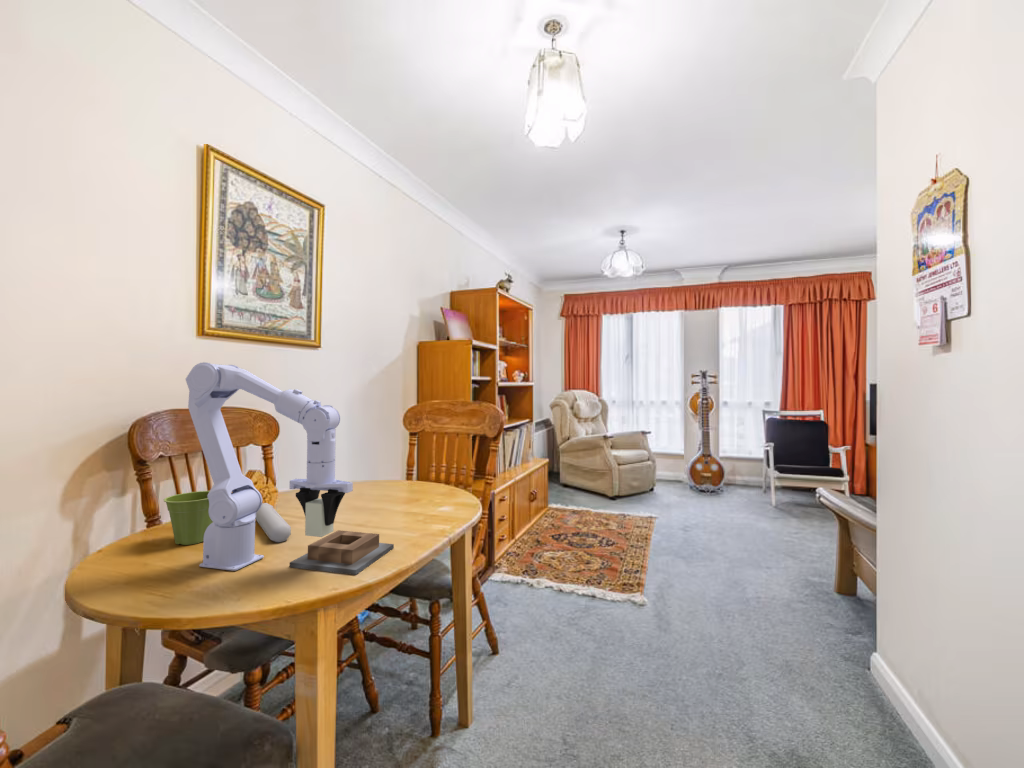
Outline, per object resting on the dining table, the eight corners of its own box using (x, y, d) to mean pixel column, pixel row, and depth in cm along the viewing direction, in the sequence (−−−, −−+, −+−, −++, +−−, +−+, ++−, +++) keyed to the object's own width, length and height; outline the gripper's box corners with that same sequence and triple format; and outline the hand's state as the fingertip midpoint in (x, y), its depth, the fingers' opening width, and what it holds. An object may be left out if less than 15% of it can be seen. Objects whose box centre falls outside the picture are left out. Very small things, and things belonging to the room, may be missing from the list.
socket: (289, 567, 94) (289, 548, 94) (335, 542, 110) (335, 526, 110) (356, 574, 91) (356, 555, 91) (393, 548, 106) (394, 531, 106)
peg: (305, 535, 94) (305, 502, 94) (317, 529, 98) (318, 498, 98) (321, 537, 93) (321, 504, 93) (333, 531, 97) (333, 499, 97)
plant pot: (208, 530, 118) (209, 488, 118) (229, 538, 112) (230, 494, 112) (154, 542, 108) (155, 497, 109) (174, 552, 102) (175, 504, 102)
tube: (297, 525, 111) (276, 504, 131) (275, 522, 108) (256, 501, 128) (289, 547, 110) (269, 522, 130) (266, 544, 107) (249, 519, 126)
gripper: (279, 462, 94) (278, 526, 94) (338, 465, 91) (338, 531, 90) (302, 457, 101) (301, 517, 101) (358, 460, 97) (357, 522, 97)
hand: (320, 523), depth 96 cm, fingers closed on peg, 4 cm apart
